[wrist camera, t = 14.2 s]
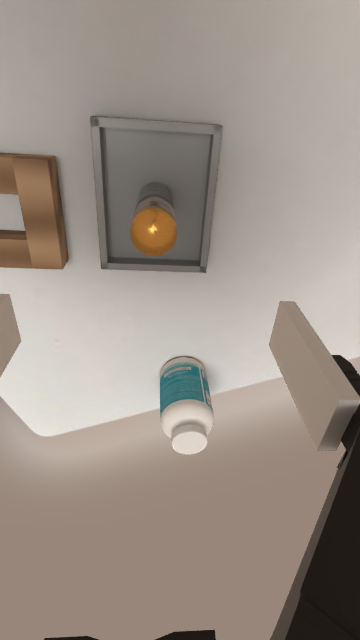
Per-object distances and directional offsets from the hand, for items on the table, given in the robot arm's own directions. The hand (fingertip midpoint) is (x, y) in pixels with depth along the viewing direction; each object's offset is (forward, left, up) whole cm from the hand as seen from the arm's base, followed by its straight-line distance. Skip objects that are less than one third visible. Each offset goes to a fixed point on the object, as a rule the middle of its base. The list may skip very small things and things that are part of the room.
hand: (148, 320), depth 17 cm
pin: (0, 0, -26) cm, 26 cm away
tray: (0, 0, -27) cm, 27 cm away
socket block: (+2, -17, -27) cm, 32 cm away
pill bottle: (+27, +5, -27) cm, 39 cm away
